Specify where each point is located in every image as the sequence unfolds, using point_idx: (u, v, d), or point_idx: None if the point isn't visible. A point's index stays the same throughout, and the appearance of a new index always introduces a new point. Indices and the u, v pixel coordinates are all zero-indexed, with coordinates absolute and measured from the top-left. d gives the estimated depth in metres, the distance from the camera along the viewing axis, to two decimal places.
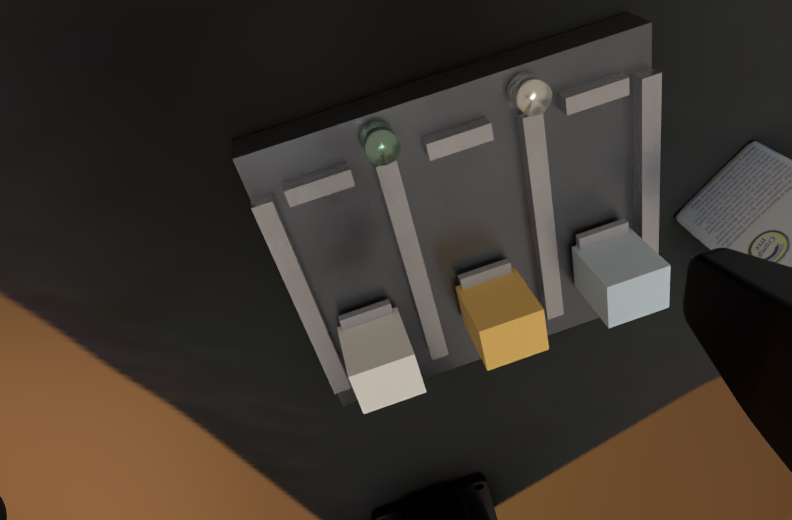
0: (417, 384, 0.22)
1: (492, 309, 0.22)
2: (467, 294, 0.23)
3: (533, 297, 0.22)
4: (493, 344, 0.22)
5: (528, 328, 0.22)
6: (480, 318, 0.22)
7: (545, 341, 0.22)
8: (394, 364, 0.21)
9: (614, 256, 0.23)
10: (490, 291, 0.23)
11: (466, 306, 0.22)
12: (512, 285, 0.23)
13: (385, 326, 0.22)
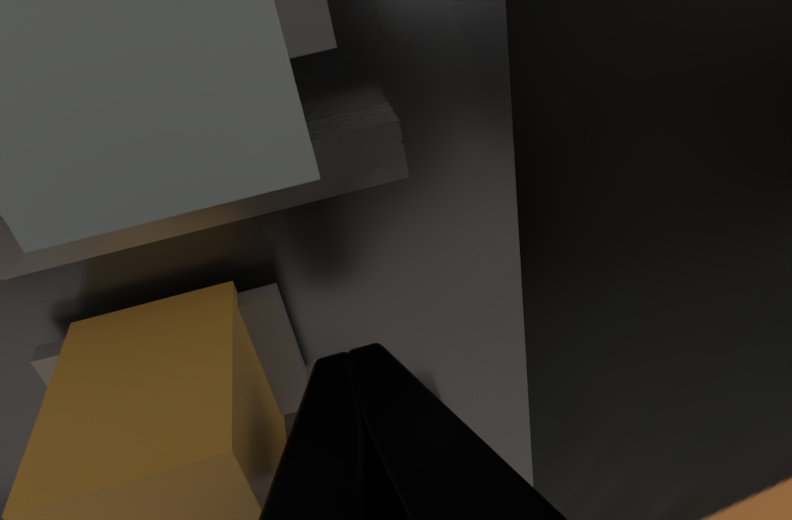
0: None
1: None
2: None
3: (27, 452, 0.06)
4: None
5: None
6: None
7: (184, 472, 0.05)
8: None
9: None
10: None
11: None
12: None
13: None
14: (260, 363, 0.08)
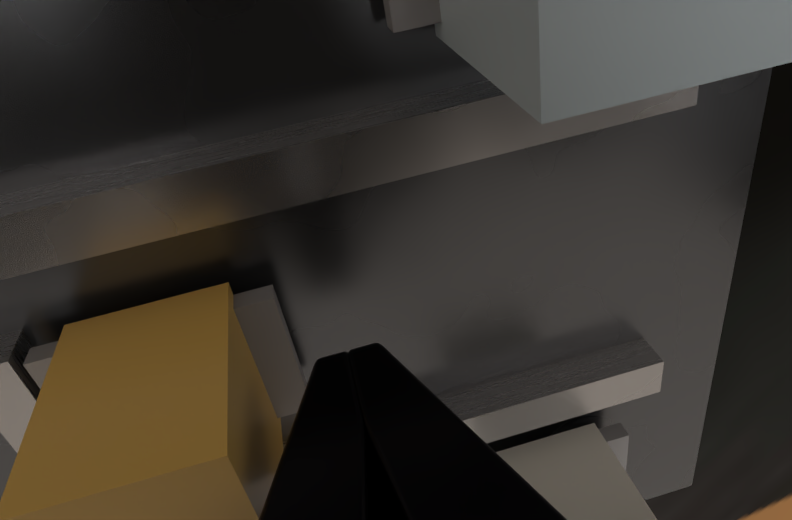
0: None
1: None
2: None
3: (20, 456, 0.06)
4: None
5: None
6: None
7: (179, 477, 0.05)
8: None
9: None
10: None
11: None
12: None
13: None
14: (256, 365, 0.08)
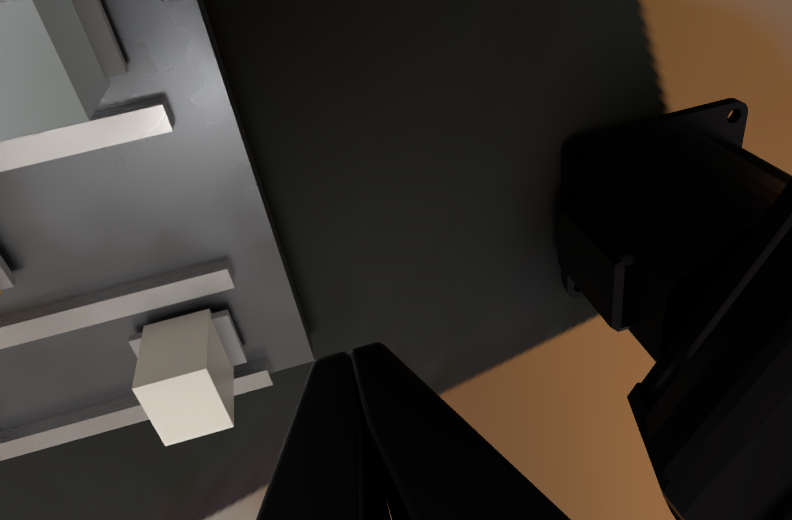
0: (189, 379, 0.17)
1: None
2: None
3: None
4: None
5: None
6: None
7: None
8: (148, 406, 0.17)
9: None
10: None
11: None
12: None
13: None
14: None
